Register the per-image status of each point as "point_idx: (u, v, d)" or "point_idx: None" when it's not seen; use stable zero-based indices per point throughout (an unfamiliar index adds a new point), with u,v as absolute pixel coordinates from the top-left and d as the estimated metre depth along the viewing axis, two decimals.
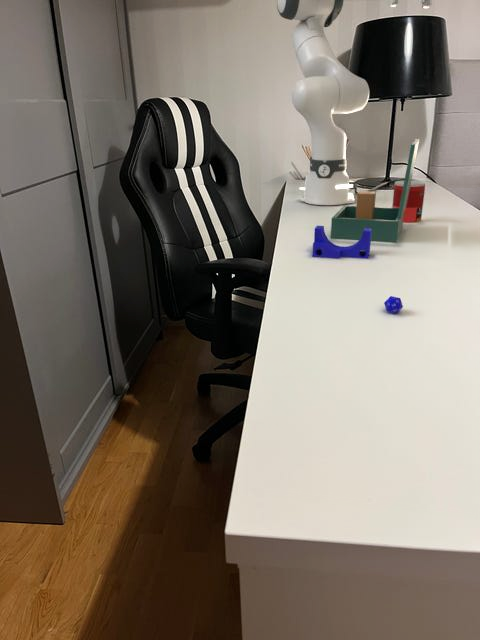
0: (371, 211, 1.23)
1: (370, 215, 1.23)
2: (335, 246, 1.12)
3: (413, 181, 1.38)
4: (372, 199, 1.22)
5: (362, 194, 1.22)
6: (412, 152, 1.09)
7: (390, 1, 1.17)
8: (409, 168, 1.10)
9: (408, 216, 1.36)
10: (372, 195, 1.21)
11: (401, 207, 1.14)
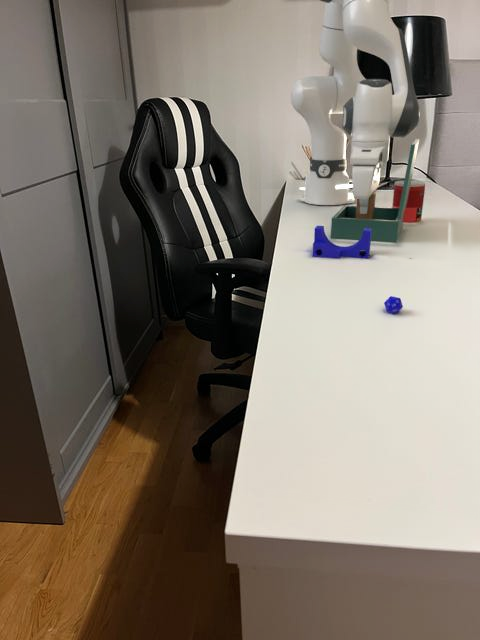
0: (371, 211, 1.23)
1: (370, 215, 1.23)
2: (335, 246, 1.12)
3: (413, 181, 1.38)
4: (372, 199, 1.22)
5: None
6: (412, 152, 1.09)
7: (363, 210, 1.22)
8: (409, 168, 1.10)
9: (408, 216, 1.36)
10: (372, 195, 1.21)
11: (401, 207, 1.14)
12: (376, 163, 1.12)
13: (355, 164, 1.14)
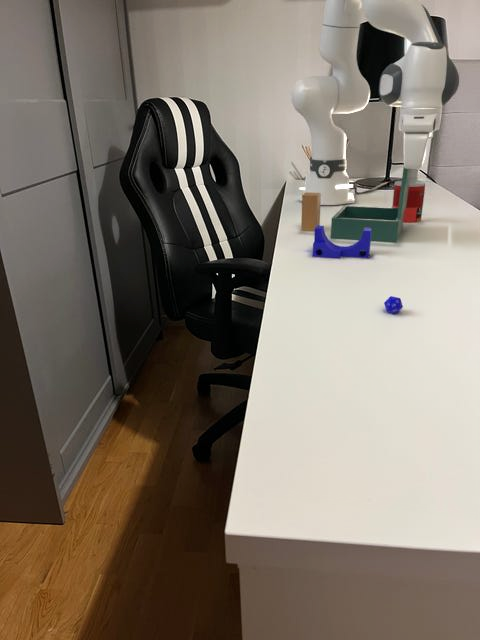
0: (316, 212, 1.28)
1: (315, 216, 1.28)
2: (335, 246, 1.12)
3: None
4: (316, 200, 1.27)
5: (306, 195, 1.27)
6: None
7: (412, 181, 1.18)
8: None
9: (408, 216, 1.36)
10: (316, 196, 1.26)
11: (400, 207, 1.14)
12: (430, 130, 1.06)
13: (407, 132, 1.08)
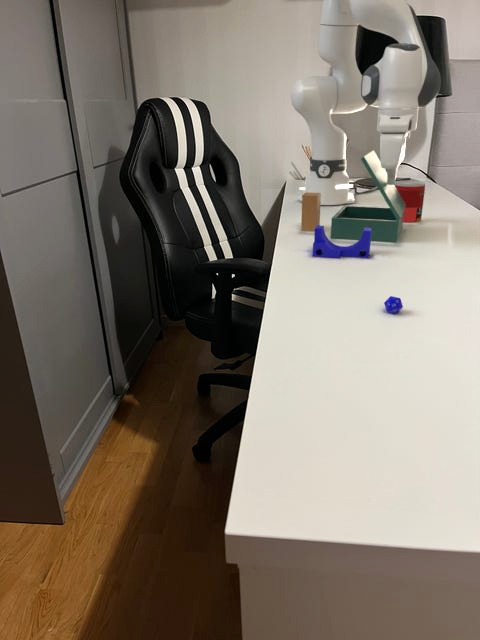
0: (316, 212, 1.28)
1: (315, 216, 1.28)
2: (335, 246, 1.12)
3: (413, 181, 1.38)
4: (316, 200, 1.27)
5: (306, 195, 1.27)
6: (366, 163, 1.13)
7: (390, 181, 1.19)
8: (374, 176, 1.14)
9: (408, 216, 1.36)
10: (316, 196, 1.26)
11: (393, 209, 1.15)
12: (406, 130, 1.08)
13: (383, 132, 1.10)
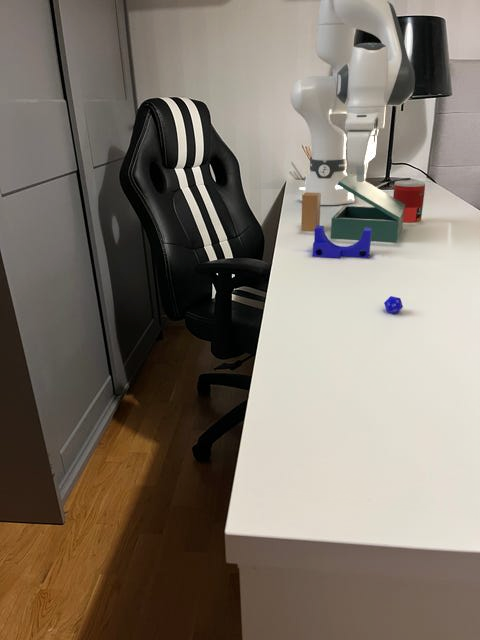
0: (316, 212, 1.28)
1: (315, 216, 1.28)
2: (335, 246, 1.12)
3: (413, 181, 1.38)
4: (316, 200, 1.27)
5: (306, 195, 1.27)
6: (344, 186, 1.17)
7: (360, 178, 1.21)
8: (356, 193, 1.16)
9: (408, 216, 1.36)
10: (316, 196, 1.26)
11: (388, 212, 1.15)
12: (371, 128, 1.10)
13: (350, 130, 1.12)
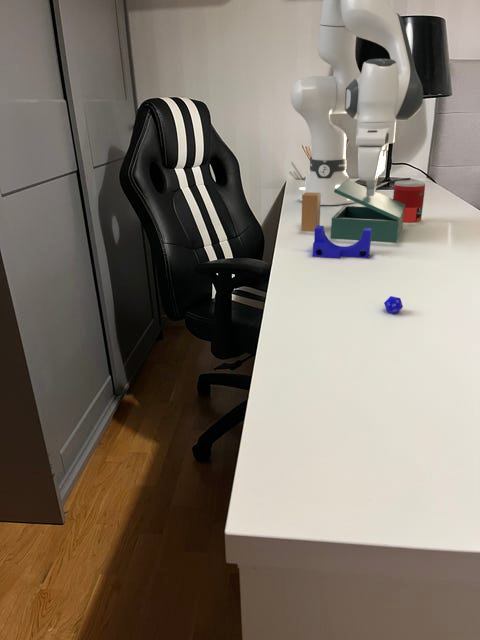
0: (316, 212, 1.28)
1: (315, 216, 1.28)
2: (335, 246, 1.12)
3: (413, 181, 1.38)
4: (316, 200, 1.27)
5: (306, 195, 1.27)
6: (340, 192, 1.18)
7: (370, 192, 1.22)
8: (354, 198, 1.17)
9: (408, 216, 1.36)
10: (316, 196, 1.26)
11: (387, 214, 1.16)
12: (382, 144, 1.10)
13: (361, 145, 1.12)
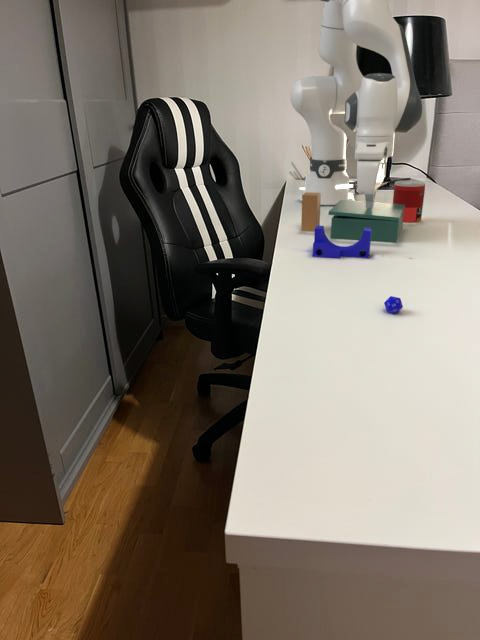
0: (316, 212, 1.28)
1: (315, 216, 1.28)
2: (335, 246, 1.12)
3: (413, 181, 1.38)
4: (316, 200, 1.27)
5: (306, 195, 1.27)
6: (335, 212, 1.20)
7: (369, 204, 1.23)
8: (349, 214, 1.19)
9: (408, 216, 1.36)
10: (316, 196, 1.26)
11: (386, 218, 1.16)
12: (381, 158, 1.12)
13: (360, 159, 1.13)
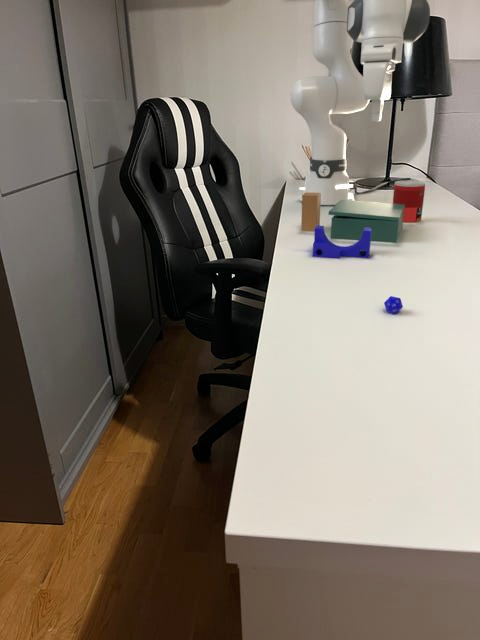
0: (316, 212, 1.28)
1: (315, 216, 1.28)
2: (335, 246, 1.12)
3: (413, 181, 1.38)
4: (316, 200, 1.27)
5: (307, 195, 1.27)
6: (335, 212, 1.20)
7: (375, 117, 1.15)
8: (349, 214, 1.19)
9: (408, 216, 1.36)
10: (316, 196, 1.26)
11: (386, 218, 1.16)
12: (389, 58, 1.04)
13: (366, 61, 1.05)
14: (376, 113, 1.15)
